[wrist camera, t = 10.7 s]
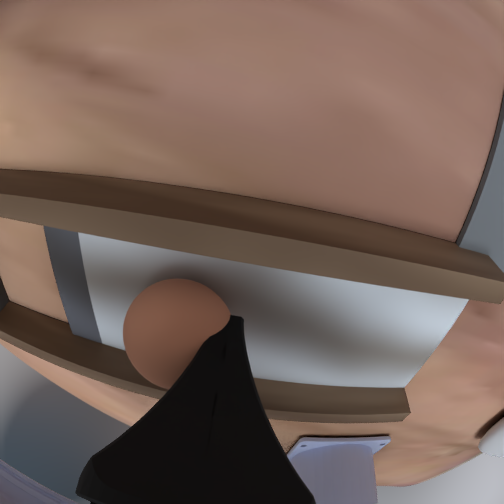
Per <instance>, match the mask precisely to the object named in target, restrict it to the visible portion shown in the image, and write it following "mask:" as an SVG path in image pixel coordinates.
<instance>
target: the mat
mask: <svg viewBox="0 0 504 504" xmlns="http://www.w3.org/2000/svg"><path fill="white" fill-rule="evenodd" d="M456 244H457V245H458V246H459V247H461V248H464V249H468V250H471V251H475V252H479V253H482V254H485V255H489V257H490V258H491V259H492V260H493V261H494V262H495V263H496V265H497V266H498V267H499V268H500V269H501V270H502V272H503V273H504V97H503V102H502V107H501V112H500V116H499V121H498V125H497V129H496V133H495V137H494V140H493V144H492V148H491V151H490V154H489V158H488V161H487V164H486V167H485V170H484V173H483V176H482V179H481V182H480V185H479V188H478V191H477V193H476V196H475V199H474V201H473V204H472V206H471V209H470V211H469V214H468V216H467V219H466V221H465V224H464V226H463V228H462V230H461V233H460V235H459V237H458V239H457V242H456Z"/></svg>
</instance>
